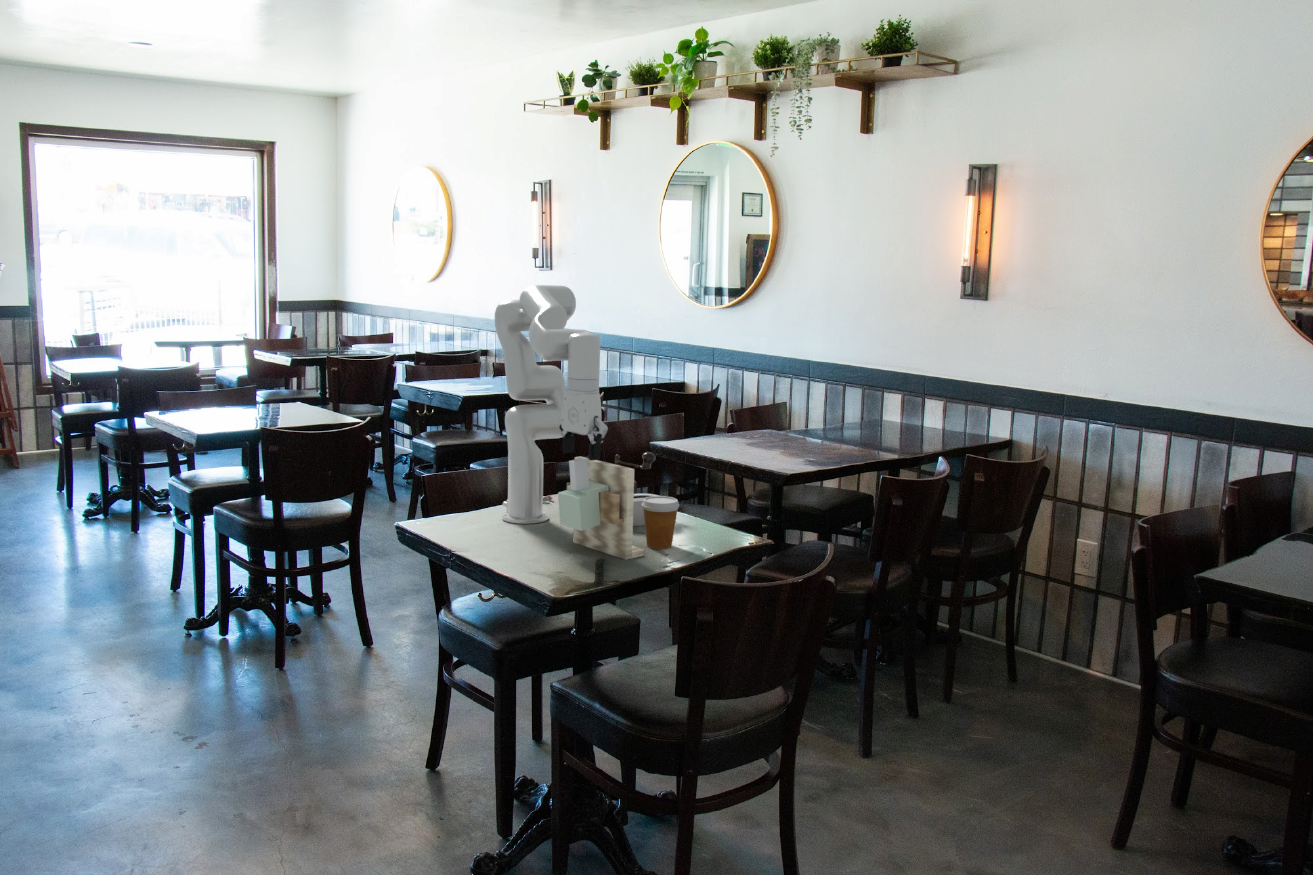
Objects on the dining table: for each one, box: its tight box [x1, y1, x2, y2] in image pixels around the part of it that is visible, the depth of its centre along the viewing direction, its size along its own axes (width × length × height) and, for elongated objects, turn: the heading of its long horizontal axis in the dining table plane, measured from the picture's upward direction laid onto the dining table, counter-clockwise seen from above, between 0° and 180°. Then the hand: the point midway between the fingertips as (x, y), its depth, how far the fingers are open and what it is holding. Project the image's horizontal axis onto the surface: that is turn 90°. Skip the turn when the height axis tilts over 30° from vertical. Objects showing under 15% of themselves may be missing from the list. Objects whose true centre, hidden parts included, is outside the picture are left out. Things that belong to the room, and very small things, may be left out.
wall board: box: [566, 456, 645, 561], centre depth 255 cm, size 20×9×22 cm, turn 44°
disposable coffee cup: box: [642, 495, 680, 550], centre depth 261 cm, size 10×10×12 cm
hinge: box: [633, 493, 660, 527], centre depth 283 cm, size 17×5×10 cm, turn 101°
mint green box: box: [557, 457, 609, 531], centre depth 250 cm, size 8×9×16 cm
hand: (581, 456), depth 249 cm, fingers open, 9 cm apart
